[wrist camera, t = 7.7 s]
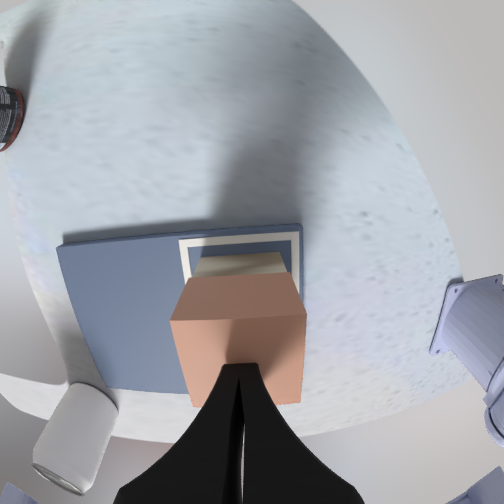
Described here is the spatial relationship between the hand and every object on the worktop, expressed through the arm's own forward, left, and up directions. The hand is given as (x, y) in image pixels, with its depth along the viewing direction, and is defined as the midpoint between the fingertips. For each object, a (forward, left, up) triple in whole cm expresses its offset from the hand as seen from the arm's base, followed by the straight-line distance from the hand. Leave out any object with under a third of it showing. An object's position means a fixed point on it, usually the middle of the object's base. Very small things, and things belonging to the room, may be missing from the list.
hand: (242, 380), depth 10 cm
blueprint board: (+5, +3, -9) cm, 11 cm away
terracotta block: (0, 0, -4) cm, 4 cm away
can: (+18, +14, -10) cm, 25 cm away
